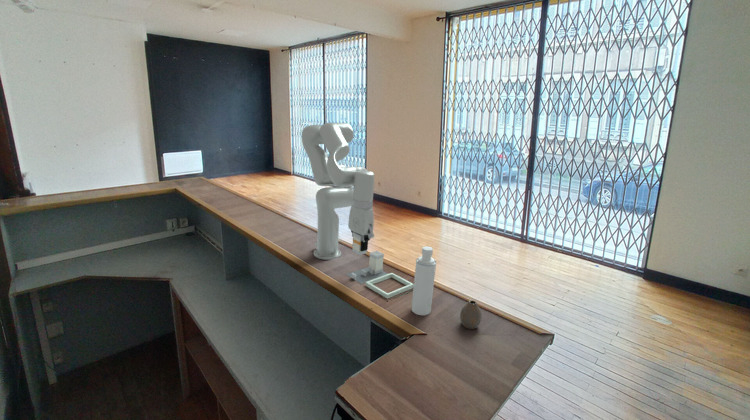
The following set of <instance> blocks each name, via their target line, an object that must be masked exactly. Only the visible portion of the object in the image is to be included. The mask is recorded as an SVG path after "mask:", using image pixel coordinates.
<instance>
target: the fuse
mask: <svg viewBox="0 0 750 420" xmlns="http://www.w3.org/2000/svg"><path fill="white" fill-rule="evenodd" d="M384 257H385V254H384V253H382V252H380V251H378V250H375V251H371V252H369V259H368V261H369V262H368V267H370V268H372V269H374V270H373V273H374V274H378V273H381V272H383V271H384V268H383V266H384Z"/></svg>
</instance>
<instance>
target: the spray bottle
mask: <svg viewBox="0 0 750 420" xmlns="http://www.w3.org/2000/svg"><path fill="white" fill-rule="evenodd" d="M433 252H434V249H433V247H431V246H428V245H427V246H422V248H421V256H419V257H417V258H416V259H415V260H416V261H415V270H414V279H413V284H414V288H412V290H413V291H412V301H411V312H413V313H414V314H415V315H419V316H427V315H429V314H431V310H432V301H433V294H434V284H435V278H436V276H435V275H436V268H437V260H435V259H434V258H433V257H432V256H433Z"/></svg>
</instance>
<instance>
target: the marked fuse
mask: <svg viewBox="0 0 750 420" xmlns="http://www.w3.org/2000/svg"><path fill="white" fill-rule="evenodd" d="M365 237H366V235H365ZM361 241H362V235H360V234H358V233H356V232H354V233H353V237H352V248H351V249H352V251H351V252H352V253H354V254H356V255H357V256H361V255H365V254H367V253H368V249H367V250H365V251H360V248H361Z"/></svg>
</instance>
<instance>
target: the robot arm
mask: <svg viewBox="0 0 750 420" xmlns="http://www.w3.org/2000/svg"><path fill="white" fill-rule="evenodd" d="M353 139H354V129H353V127H352V126H351V124H349V123H347V122H326V123H323V124H311V125H307V126H305V127H304V128H303V129H302V131H301V142H302V146H303V149H304V151H305V153H306V155H307V157H308V159H309V163H310V167H311V168H310V169H311V170H312V171H311V172H312V174H313V175H312V176H313V180H314V181H315V184H316V185H317V186H319V187H322V188H320V189H319V190H317V192H316V194H315V202H316V210H317V211H316V212H317V232H316V233H317V234H316V235H317V237H316V239H317V241H316V242H314V243H313V244H314V246H316V249H315V250H313V256H314V257H315V258H317V259H320V260H323V261H324V260H325V261H326V260H327V261H328V260H329V261H330V260H334V259H339V258H340V257H341V256H342V251H341V250H340V249H339V237H340V236H339V234H340V230H339V228H340V218H339V215H338V213H337V212H336V211H335V210H336V209H341V208H349V207H350V210H349V215H348V229H349V230H350V231H351V237H352V238H353V233H354V232H356V233H358V234H360V235H362V241H361V248H360V251H365V250H367V251H368V249H369V246H368V245H369V241H370V240H371V239H373V238H375V234H374V226H375V225H374V218H375V217H374V209H373V203H374V202H373V201H374V191H375V190H374V188H375V173H374V172H373V171H370V170H367V169H366V168H365V167H363V166H345V165H344V164H341V163H339V164H338V162H340V161H341V160H343V159H345V158H346V157H347V156H348V155H349V153H350V150H351V149H350V145H349V143H351V142H352V141H353ZM320 145H324V146H325V147H326V149H327V152H328V153H329V154H328V153H327V152H326V150H325V149H324V148H323V147H321V146H320ZM365 235H366V237H365Z"/></svg>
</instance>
